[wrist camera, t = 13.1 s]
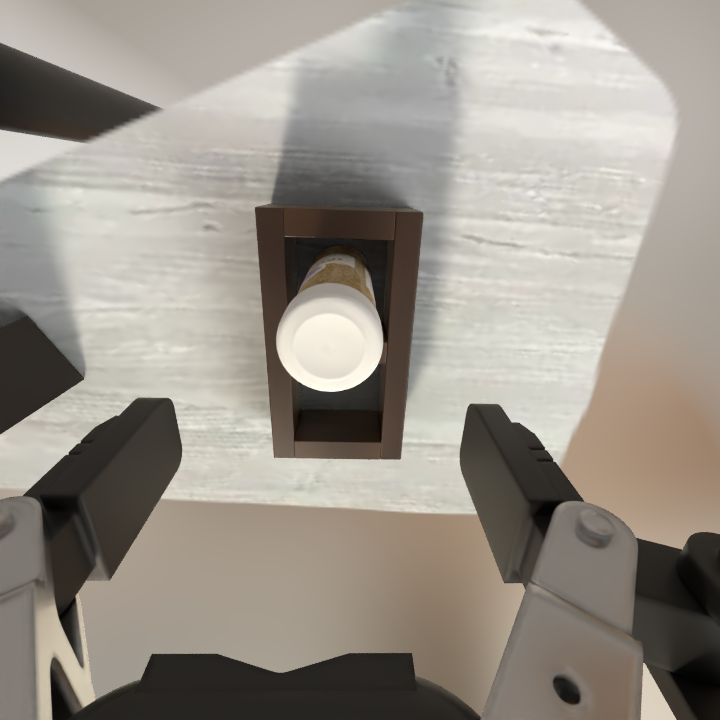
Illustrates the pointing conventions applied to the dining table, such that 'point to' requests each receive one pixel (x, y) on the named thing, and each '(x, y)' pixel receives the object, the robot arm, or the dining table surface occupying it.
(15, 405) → the phone stand
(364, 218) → the holder
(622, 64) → the dining table surface
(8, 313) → the dining table surface
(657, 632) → the robot arm
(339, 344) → the sprinkles bottle
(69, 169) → the dining table surface
